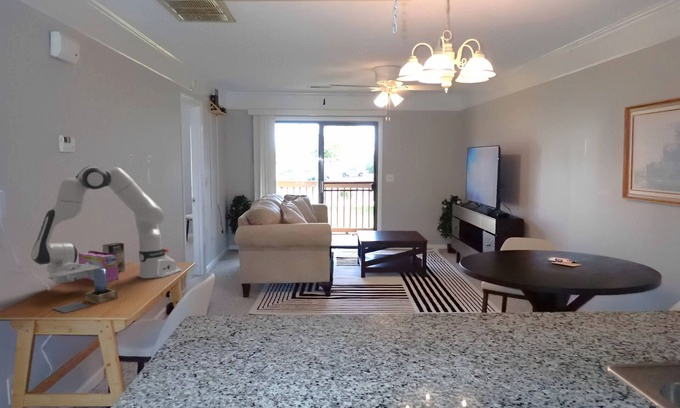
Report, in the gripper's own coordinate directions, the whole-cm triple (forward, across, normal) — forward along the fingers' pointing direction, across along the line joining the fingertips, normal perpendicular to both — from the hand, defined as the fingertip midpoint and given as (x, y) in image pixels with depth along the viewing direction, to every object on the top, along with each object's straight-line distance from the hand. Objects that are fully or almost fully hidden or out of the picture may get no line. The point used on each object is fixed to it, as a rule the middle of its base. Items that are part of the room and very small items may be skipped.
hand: (85, 276), depth 203 cm
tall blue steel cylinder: (+12, 0, +9) cm, 15 cm away
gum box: (-26, +20, +9) cm, 34 cm away
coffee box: (-32, +32, +9) cm, 46 cm away
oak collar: (+12, 0, +9) cm, 15 cm away
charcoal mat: (+12, -13, +9) cm, 20 cm away
